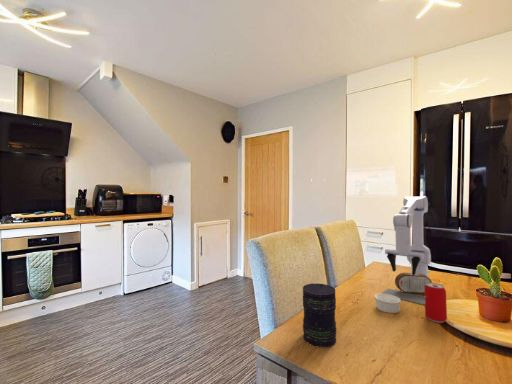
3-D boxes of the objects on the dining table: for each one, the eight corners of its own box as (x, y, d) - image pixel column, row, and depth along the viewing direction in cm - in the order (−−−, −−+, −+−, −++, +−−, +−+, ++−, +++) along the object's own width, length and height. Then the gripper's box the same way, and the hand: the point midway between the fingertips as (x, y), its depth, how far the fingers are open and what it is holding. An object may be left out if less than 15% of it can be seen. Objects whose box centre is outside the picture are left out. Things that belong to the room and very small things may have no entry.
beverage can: (443, 317, 90) (442, 283, 91) (450, 325, 84) (449, 288, 85) (422, 314, 92) (421, 281, 93) (428, 322, 86) (427, 286, 87)
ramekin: (399, 306, 99) (399, 295, 100) (402, 316, 91) (401, 303, 92) (374, 303, 103) (374, 292, 103) (375, 311, 95) (374, 300, 95)
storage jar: (331, 352, 70) (330, 297, 70) (297, 341, 75) (297, 290, 75) (340, 335, 78) (339, 286, 79) (309, 327, 83) (309, 281, 84)
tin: (429, 292, 115) (429, 273, 115) (433, 294, 111) (433, 275, 112) (394, 290, 116) (394, 271, 117) (397, 292, 113) (397, 273, 114)
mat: (388, 289, 119) (388, 288, 119) (439, 300, 105) (439, 299, 105) (380, 294, 112) (380, 293, 112) (435, 307, 98) (435, 307, 98)
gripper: (382, 240, 113) (383, 271, 113) (420, 244, 103) (421, 278, 103) (387, 239, 118) (388, 268, 118) (424, 242, 108) (424, 274, 108)
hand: (403, 272), depth 111 cm, fingers open, 7 cm apart
